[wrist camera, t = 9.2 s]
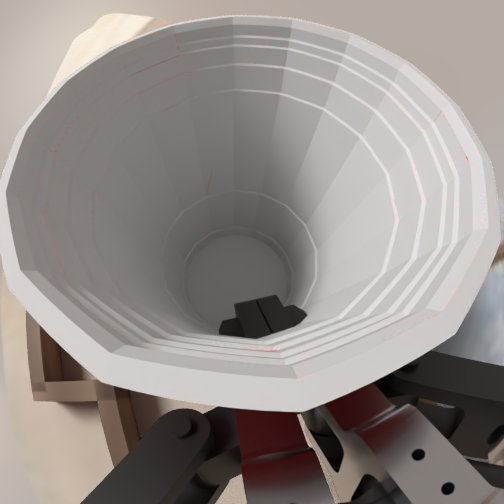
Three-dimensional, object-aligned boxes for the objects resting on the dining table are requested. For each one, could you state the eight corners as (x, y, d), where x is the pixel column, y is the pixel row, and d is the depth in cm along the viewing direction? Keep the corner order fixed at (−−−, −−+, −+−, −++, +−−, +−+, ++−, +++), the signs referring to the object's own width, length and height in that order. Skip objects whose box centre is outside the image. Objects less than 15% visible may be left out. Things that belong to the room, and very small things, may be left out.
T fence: (356, 126, 22) (364, 109, 20) (471, 485, 10) (489, 489, 8) (57, 170, 18) (47, 153, 16) (126, 584, 6) (118, 598, 4)
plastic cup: (224, 166, 19) (229, -15, 8) (364, 267, 16) (503, 120, 5) (98, 287, 15) (-47, 139, 4) (248, 424, 12) (318, 571, 2)
